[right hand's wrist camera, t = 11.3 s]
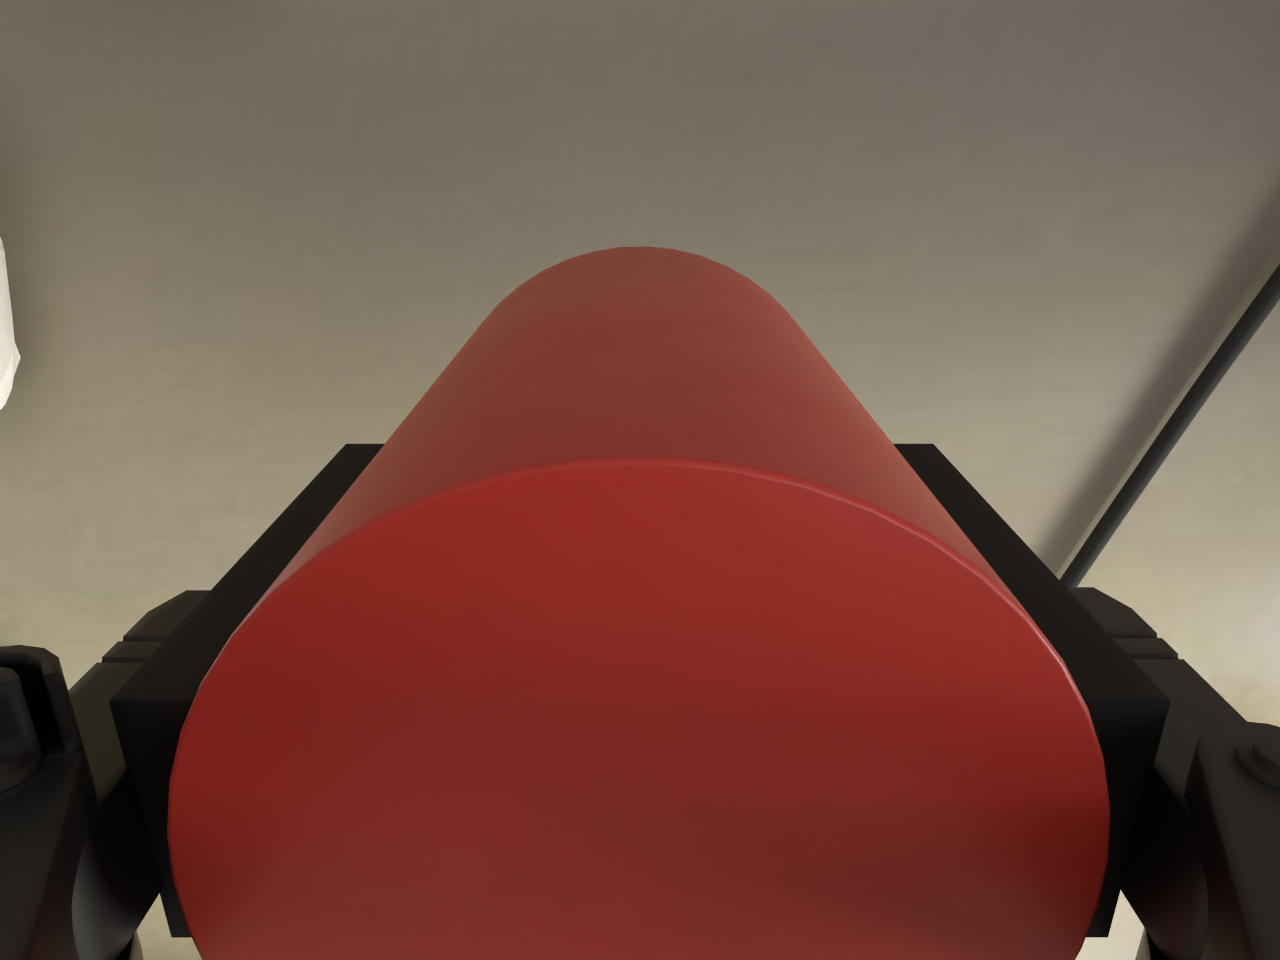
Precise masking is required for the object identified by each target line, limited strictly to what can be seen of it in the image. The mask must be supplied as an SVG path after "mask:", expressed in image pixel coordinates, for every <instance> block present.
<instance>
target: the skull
mask: <svg viewBox="0 0 1280 960" xmlns="http://www.w3.org/2000/svg"><path fill="white" fill-rule="evenodd" d="M20 358H21V357H20V355H19V352H18V349H17V347H16V344H15V341H14V330H13V318H12V310H11V302H10V293H9V285H8V277H7V269H6V261H5V252H4V248H3V243H2V240H1V238H0V410H1V408H2V407H3V406H4V405H5V404H6V401H7V399H8V397H9V394H10V392H11V390H12V384H13V378H14V375H15V372H16V369H17V367H18V364H19V361H20Z"/></svg>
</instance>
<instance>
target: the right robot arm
mask: <svg viewBox="0 0 1280 960" xmlns="http://www.w3.org/2000/svg"><path fill="white" fill-rule="evenodd" d="M1279 299H1280V265H1279V266H1278V267H1277V269H1276V270H1275V271H1274V273H1273V274H1272V276H1271V277H1270V278H1269V280H1268V281H1267V282H1266V284H1265V285H1264V287H1263V288H1262V289H1261V291H1260V292H1259V293H1258V295H1257V296H1256V298H1255V299H1254V300H1253V302H1252V303H1251V305H1250V306H1249V307H1248V309H1247V310H1246V312H1245V313H1244V314H1243V316H1242V317H1241V318H1240V320H1239V321H1238V323H1237V324H1236V325H1235V327H1234V328H1233V330H1232V331H1231V332H1230V334H1229V335H1228V337H1227V338H1226V339H1225V341H1224V342H1223V344H1222V345H1221V346H1220V348H1219V349H1218V351H1217V352H1216V353H1215V355H1214V356H1213V358H1212V359H1211V360H1210V362H1209V363H1208V365H1207V366H1206V367H1205V369H1204V370H1203V372H1202V373H1201V375H1200V376H1199V377H1198V379H1197V380H1196V382H1195V383H1194V384H1193V386H1192V387H1191V389H1190V390H1189V392H1188V393H1187V394H1186V396H1185V397H1184V399H1183V400H1182V402H1181V403H1180V405H1179V406H1178V407H1177V409H1176V410H1175V412H1174V413H1173V415H1172V416H1171V418H1170V419H1169V420H1168V422H1167V423H1166V425H1165V426H1164V428H1163V429H1162V431H1161V432H1160V434H1159V435H1158V436H1157V438H1156V439H1155V441H1154V442H1153V444H1152V445H1151V447H1150V448H1149V450H1148V451H1147V452H1146V454H1145V455H1144V457H1143V458H1142V460H1141V461H1140V463H1139V464H1138V466H1137V467H1136V469H1135V470H1134V471H1133V473H1132V474H1131V476H1130V477H1129V479H1128V480H1127V482H1126V483H1125V485H1124V486H1123V488H1122V489H1121V490H1120V492H1119V493H1118V495H1117V496H1116V498H1115V499H1114V501H1113V502H1112V504H1111V505H1110V506H1109V508H1108V509H1107V511H1106V512H1105V514H1104V515H1103V517H1102V518H1101V520H1100V521H1099V523H1098V524H1097V526H1096V527H1095V529H1094V530H1093V531H1092V533H1091V534H1090V536H1089V537H1088V539H1087V540H1086V542H1085V543H1084V545H1083V546H1082V548H1081V549H1080V551H1079V552H1078V554H1077V555H1076V557H1075V558H1074V560H1073V561H1072V563H1071V564H1070V566H1069V567H1068V569H1067V570H1066V572H1065V573H1064V574H1063V576H1062V577H1061V579H1060V580H1058V578H1057V577H1056V576H1055V575H1054V574H1053V573H1052V572H1051V571H1050V570H1049V569H1048V568H1047V567H1046V565H1045V564H1044V563H1043V562H1042V561H1041V560H1040V559H1039V558H1038V557H1037V556H1036V555H1035V554H1034V552H1033V551H1032V550H1031V549H1030V548H1029V547H1028V546H1027V545H1026V544H1025V543H1024V542H1023V541H1022V539H1021V538H1020V537H1019V536H1018V535H1017V534H1016V533H1015V532H1014V531H1013V530H1012V529H1011V528H1010V527H1009V525H1008V524H1007V523H1006V522H1005V521H1004V520H1003V519H1002V518H1001V517H1000V516H999V515H998V514H997V512H996V511H995V510H994V509H993V508H992V507H991V506H990V505H989V504H988V503H987V502H986V501H985V499H984V498H983V497H982V496H981V495H980V494H979V493H978V492H977V491H976V490H975V489H974V488H973V486H972V485H971V484H970V483H969V482H968V481H967V480H966V479H965V478H964V477H963V476H962V475H961V473H960V472H959V471H958V470H957V469H956V468H955V467H954V466H953V465H952V464H951V463H950V462H949V460H948V459H947V458H946V457H945V456H944V455H943V454H942V453H941V452H940V451H939V450H938V449H937V447H936V446H935V445H934V444H893V445H894V446H895V447H896V449H897V450H898V451H899V452H900V454H901V455H902V456H903V457H904V459H905V460H906V461H907V462H908V464H909V465H910V466H911V467H912V469H913V470H914V471H915V472H916V474H917V475H918V476H919V477H920V479H921V480H922V481H923V482H924V484H925V485H926V486H927V487H928V489H929V490H930V491H931V492H932V494H933V495H934V496H935V497H936V499H937V500H938V501H939V502H940V504H941V505H942V506H943V507H944V509H945V510H946V511H947V512H948V514H949V515H950V516H951V517H952V519H953V520H954V521H955V522H956V524H957V525H958V526H959V527H960V529H961V530H962V531H963V533H964V534H965V535H966V536H967V538H968V539H969V540H970V541H971V543H972V544H973V545H974V546H975V548H976V549H977V550H978V551H979V553H980V554H981V555H982V556H983V558H984V559H985V560H986V561H987V563H988V564H989V565H990V566H991V568H992V569H993V570H994V571H995V573H996V574H997V575H998V576H999V578H1000V579H1001V580H1002V581H1003V583H1004V584H1005V585H1006V586H1007V588H1008V589H1009V590H1010V591H1011V593H1012V594H1013V595H1014V596H1015V598H1016V599H1017V600H1018V601H1019V603H1020V604H1021V605H1022V606H1023V608H1024V609H1025V610H1026V611H1027V613H1028V614H1029V615H1030V617H1031V618H1032V619H1033V621H1034V622H1035V623H1036V625H1037V626H1038V627H1039V629H1040V630H1041V631H1042V633H1043V634H1044V635H1045V637H1046V638H1047V639H1048V641H1049V642H1050V643H1051V645H1052V646H1053V647H1054V649H1055V650H1056V651H1057V653H1058V654H1059V655H1060V657H1061V658H1062V659H1063V661H1064V663H1065V665H1066V667H1067V669H1068V671H1069V673H1070V675H1071V677H1072V678H1073V680H1074V682H1075V684H1076V686H1077V688H1078V690H1079V692H1080V694H1081V696H1082V698H1083V700H1084V702H1085V704H1086V705H1087V707H1088V710H1089V713H1090V717H1091V720H1092V723H1093V726H1094V729H1095V732H1096V736H1097V739H1098V742H1099V745H1100V748H1101V751H1102V755H1103V758H1104V766H1105V773H1106V781H1107V789H1108V796H1109V804H1110V827H1109V850H1108V861H1107V866H1106V871H1105V875H1104V880H1103V885H1102V889H1101V894H1100V899H1099V903H1098V907H1097V909H1096V912H1095V914H1094V917H1093V919H1092V922H1091V925H1090V927H1089V930H1088V932H1087V935H1086V937H1108V934H1109V931H1110V927H1111V923H1112V919H1113V916H1114V912H1115V908H1116V904H1117V901H1118V897H1119V893H1120V889H1121V891H1122V892H1123V894H1124V895H1125V897H1126V899H1127V900H1128V902H1129V903H1130V905H1131V907H1132V908H1133V910H1134V911H1135V913H1136V914H1137V916H1138V918H1139V919H1140V921H1141V922H1142V924H1143V926H1144V931H1143V934H1142V938H1141V941H1140V945H1139V948H1138V952H1137V955H1136V959H1135V960H1280V727H1277V726H1273V725H1270V724H1263V723H1254V722H1247V721H1246V720H1245V719H1244V718H1243V717H1242V716H1241V715H1240V714H1239V713H1238V712H1237V711H1236V710H1235V709H1234V708H1233V707H1232V706H1231V705H1229V704H1228V703H1227V702H1226V701H1225V700H1224V699H1223V698H1222V697H1221V696H1220V695H1219V694H1218V693H1217V692H1216V691H1215V690H1214V689H1213V688H1212V687H1211V686H1210V685H1209V684H1208V683H1207V682H1206V681H1205V680H1204V679H1203V678H1202V677H1201V676H1200V675H1199V674H1198V673H1197V672H1196V671H1195V670H1194V669H1193V668H1192V667H1191V666H1190V665H1189V664H1188V663H1187V662H1186V661H1185V660H1184V659H1178V654H1177V653H1176V652H1175V651H1174V650H1173V649H1172V648H1171V647H1170V646H1169V645H1168V644H1167V643H1166V642H1165V641H1164V640H1163V639H1162V638H1157V633H1156V632H1155V631H1154V630H1153V629H1152V628H1151V627H1150V626H1149V625H1148V624H1147V623H1146V622H1145V621H1144V620H1143V619H1142V618H1141V617H1140V616H1139V615H1138V614H1137V613H1136V612H1135V611H1134V610H1133V609H1131V608H1130V607H1128V606H1126V605H1124V604H1122V603H1121V602H1119V601H1117V600H1115V599H1113V598H1112V597H1110V596H1108V595H1106V594H1104V593H1103V592H1101V591H1099V590H1097V589H1095V588H1093V587H1077V586H1078V584H1079V583H1080V582H1081V580H1082V579H1083V577H1084V576H1085V574H1086V573H1087V571H1088V570H1089V568H1090V567H1091V565H1092V564H1093V563H1094V561H1095V560H1096V558H1097V557H1098V555H1099V554H1100V552H1101V551H1102V549H1103V548H1104V546H1105V545H1106V544H1107V542H1108V541H1109V539H1110V538H1111V536H1112V535H1113V533H1114V532H1115V530H1116V529H1117V528H1118V526H1119V525H1120V523H1121V522H1122V520H1123V519H1124V517H1125V516H1126V515H1127V513H1128V512H1129V510H1130V509H1131V507H1132V506H1133V504H1134V503H1135V502H1136V500H1137V499H1138V497H1139V496H1140V494H1141V493H1142V492H1143V490H1144V489H1145V487H1146V486H1147V484H1148V483H1149V482H1150V480H1151V479H1152V477H1153V476H1154V474H1155V473H1156V471H1157V470H1158V469H1159V467H1160V466H1161V464H1162V463H1163V461H1164V460H1165V458H1166V457H1167V456H1168V454H1169V453H1170V451H1171V450H1172V448H1173V447H1174V446H1175V444H1176V443H1177V441H1178V440H1179V438H1180V437H1181V436H1182V434H1183V433H1184V431H1185V430H1186V428H1187V427H1188V425H1189V424H1190V423H1191V421H1192V420H1193V418H1194V417H1195V416H1196V414H1197V413H1198V411H1199V410H1200V408H1201V407H1202V406H1203V404H1204V403H1205V401H1206V400H1207V399H1208V397H1209V396H1210V394H1211V393H1212V392H1213V390H1214V389H1215V387H1216V386H1217V385H1218V383H1219V382H1220V380H1221V379H1222V378H1223V376H1224V375H1225V373H1226V372H1227V371H1228V369H1229V368H1230V366H1231V365H1232V364H1233V362H1234V361H1235V360H1236V358H1237V357H1238V355H1239V354H1240V353H1241V351H1242V350H1243V348H1244V347H1245V346H1246V344H1247V343H1248V342H1249V340H1250V339H1251V337H1252V336H1253V335H1254V333H1255V332H1256V331H1257V329H1258V328H1259V327H1260V325H1261V324H1262V322H1263V321H1264V320H1265V318H1266V317H1267V316H1268V314H1269V313H1270V311H1271V310H1272V309H1273V307H1274V306H1275V305H1276V303H1277V302H1278V301H1279ZM383 446H384V444H346V445H345V446H344V447H343V448H342V449H341V450H340V451H339V452H338V453H337V454H336V455H335V457H334V458H333V459H332V460H331V461H330V462H329V463H328V464H327V465H326V466H325V467H324V468H323V470H322V471H321V472H320V473H319V474H318V475H317V476H316V477H315V478H314V479H313V480H312V481H311V483H310V484H309V485H308V486H307V487H306V488H305V489H304V490H303V491H302V492H301V493H300V494H299V496H298V497H297V498H296V499H295V500H294V501H293V502H292V503H291V504H290V505H289V506H288V507H287V509H286V510H285V511H284V512H283V513H282V514H281V515H280V516H279V517H278V518H277V519H276V520H275V521H274V523H273V524H272V525H271V526H270V527H269V528H268V529H267V530H266V531H265V532H264V533H263V534H262V536H261V537H260V538H259V539H258V540H257V541H256V542H255V543H254V544H253V545H252V546H251V547H250V549H249V550H248V551H247V552H246V553H245V554H244V555H243V556H242V557H241V558H240V559H239V560H238V562H237V563H236V564H235V565H234V566H233V567H232V568H231V569H230V570H229V571H228V572H227V573H226V575H225V576H224V577H223V578H222V579H221V580H220V581H219V582H218V583H217V584H216V585H215V586H214V588H213V589H212V590H186V591H185V592H183V593H181V594H179V595H178V596H176V597H174V598H172V599H170V600H169V601H167V602H165V603H163V604H161V605H160V606H158V607H156V608H154V609H152V610H151V611H149V612H148V613H147V614H146V615H145V616H144V617H143V618H141V619H140V620H139V621H138V622H137V623H136V624H135V625H134V626H133V627H132V628H131V629H130V630H129V631H128V632H127V633H126V634H125V635H124V636H123V642H117V643H116V644H115V645H114V646H113V647H112V648H111V649H110V650H109V651H108V652H107V653H106V654H105V655H104V656H103V657H102V663H96V664H95V665H94V666H93V667H92V668H91V669H90V670H89V671H88V672H87V673H86V674H85V675H84V676H83V677H82V678H81V679H80V680H79V681H78V682H77V683H76V684H75V685H74V686H73V687H72V688H71V689H70V690H69V691H68V689H67V686H66V682H65V679H64V675H63V672H62V668H61V665H60V661H59V658H58V657H57V656H55V655H54V654H52V653H51V652H49V651H48V650H46V649H45V648H38V647H31V646H23V645H15V646H4V647H0V960H143V954H142V948H141V945H140V941H139V938H138V934H137V931H136V930H137V928H138V926H139V925H140V923H141V922H142V920H143V918H144V917H145V915H146V914H147V912H148V910H149V909H150V907H151V906H152V904H153V902H154V901H155V899H156V898H157V896H158V894H159V893H160V896H161V899H162V903H163V907H164V911H165V914H166V918H167V922H168V926H169V929H170V933H171V937H191V935H190V932H189V930H188V928H187V926H186V923H185V920H184V916H183V913H182V910H181V906H180V903H179V900H178V896H177V893H176V889H175V886H174V883H173V878H172V870H171V862H170V854H169V846H168V838H167V822H168V800H169V782H170V777H171V772H172V768H173V763H174V759H175V755H176V750H177V746H178V741H179V737H180V732H181V729H182V727H183V725H184V722H185V720H186V718H187V715H188V713H189V710H190V708H191V706H192V703H193V701H194V698H195V696H196V694H197V691H198V689H199V686H200V684H201V682H202V680H203V679H204V677H205V676H206V674H207V672H208V671H209V669H210V668H211V666H212V665H213V663H214V661H215V660H216V658H217V657H218V655H219V654H220V652H221V650H222V649H223V647H224V646H225V644H226V643H227V641H228V639H229V638H230V636H231V635H232V633H233V632H234V631H235V630H236V628H237V627H238V626H239V625H240V624H241V622H242V621H243V620H244V619H245V617H246V616H247V615H248V614H249V612H250V611H251V610H252V609H253V607H254V606H255V605H256V604H257V602H258V601H259V600H260V599H261V597H262V596H263V595H264V594H265V592H266V591H267V590H268V589H269V587H270V586H271V585H272V584H273V582H274V581H275V580H276V579H277V578H278V576H279V575H280V574H281V573H282V571H283V570H284V569H285V568H286V566H287V565H288V564H289V563H290V561H291V560H292V559H293V558H294V556H295V555H296V554H297V553H298V551H299V550H300V549H301V548H302V546H303V545H304V544H305V543H306V541H307V540H308V539H309V538H310V536H311V535H312V534H313V533H314V532H315V530H316V529H317V528H318V527H319V525H320V524H321V523H322V522H323V520H324V519H325V518H326V517H327V515H328V514H329V513H330V512H331V510H332V509H333V508H334V507H335V505H336V504H337V503H338V502H339V500H340V499H341V498H342V497H343V495H344V494H345V493H346V492H347V490H348V489H349V488H350V487H351V485H352V484H353V483H354V482H355V481H356V479H357V478H358V477H359V476H360V474H361V473H362V472H363V471H364V469H365V468H366V467H367V466H368V464H369V463H370V462H371V461H372V459H373V458H374V457H375V456H376V454H377V453H378V452H379V451H380V449H381V448H382V447H383Z"/></svg>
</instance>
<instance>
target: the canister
mask: <svg viewBox="0 0 1280 960" xmlns="http://www.w3.org/2000/svg"><path fill="white" fill-rule="evenodd" d="M1109 827H1110V804H1109V796H1108V789H1107V781H1106V773H1105V766H1104V758H1103V755H1102V751H1101V748H1100V745H1099V742H1098V739H1097V736H1096V732H1095V729H1094V726H1093V723H1092V720H1091V717H1090V713H1089V710H1088V707H1087V705H1086V704H1085V702H1084V700H1083V698H1082V696H1081V694H1080V692H1079V690H1078V688H1077V686H1076V684H1075V682H1074V680H1073V678H1072V677H1071V675H1070V673H1069V671H1068V669H1067V667H1066V665H1065V663H1064V661H1063V659H1062V658H1061V657H1060V655H1059V654H1058V653H1057V651H1056V650H1055V649H1054V647H1053V646H1052V645H1051V643H1050V642H1049V641H1048V639H1047V638H1046V637H1045V635H1044V634H1043V633H1042V631H1041V630H1040V629H1039V627H1038V626H1037V625H1036V623H1035V622H1034V621H1033V619H1032V618H1031V617H1030V615H1029V614H1028V613H1027V611H1026V610H1025V609H1024V608H1023V606H1022V605H1021V604H1020V603H1019V601H1018V600H1017V599H1016V598H1015V596H1014V595H1013V594H1012V593H1011V591H1010V590H1009V589H1008V588H1007V586H1006V585H1005V584H1004V583H1003V581H1002V580H1001V579H1000V578H999V576H998V575H997V574H996V573H995V571H994V570H993V569H992V568H991V566H990V565H989V564H988V563H987V561H986V560H985V559H984V558H983V556H982V555H981V554H980V553H979V551H978V550H977V549H976V548H975V546H974V545H973V544H972V543H971V541H970V540H969V539H968V538H967V536H966V535H965V534H964V533H963V531H962V530H961V529H960V527H959V526H958V525H957V524H956V522H955V521H954V520H953V519H952V517H951V516H950V515H949V514H948V512H947V511H946V510H945V509H944V507H943V506H942V505H941V504H940V502H939V501H938V500H937V499H936V497H935V496H934V495H933V494H932V492H931V491H930V490H929V489H928V487H927V486H926V485H925V484H924V482H923V481H922V480H921V479H920V477H919V476H918V475H917V474H916V472H915V471H914V470H913V469H912V467H911V466H910V465H909V464H908V462H907V461H906V460H905V459H904V457H903V456H902V455H901V454H900V452H899V451H898V450H897V449H896V447H895V446H894V445H893V444H892V442H891V441H890V440H889V439H888V437H887V436H886V435H885V433H884V432H883V431H882V430H881V428H880V427H879V426H878V425H877V423H876V422H875V421H874V420H873V418H872V417H871V416H870V415H869V413H868V412H867V411H866V410H865V408H864V407H863V406H862V405H861V403H860V402H859V401H858V400H857V398H856V397H855V396H854V395H853V393H852V392H851V391H850V390H849V388H848V387H847V386H846V385H845V383H844V382H843V381H842V380H841V378H840V377H839V376H838V375H837V373H836V372H835V371H834V370H833V368H832V367H831V366H830V365H829V363H828V362H827V361H826V360H825V358H824V357H823V356H822V355H821V353H820V352H819V351H818V350H817V348H816V347H815V346H814V344H813V343H812V342H811V341H810V339H809V338H808V337H807V336H806V334H805V333H804V332H803V331H802V329H801V328H800V327H799V326H798V324H797V323H796V322H795V321H794V319H793V318H792V317H791V316H790V314H789V313H788V312H787V311H786V310H785V309H784V308H783V307H782V306H781V305H780V304H779V303H778V302H777V301H776V300H775V299H774V298H773V297H772V296H771V295H770V294H769V293H767V292H766V291H765V290H763V289H762V288H761V287H759V286H758V285H757V284H755V283H754V282H753V281H751V280H750V279H749V278H747V277H745V276H743V275H741V274H740V273H738V272H736V271H734V270H732V269H731V268H729V267H727V266H725V265H723V264H720V263H717V262H715V261H712V260H710V259H707V258H705V257H702V256H699V255H695V254H691V253H687V252H683V251H678V250H674V249H665V248H656V247H619V248H613V249H607V250H601V251H595V252H591V253H587V254H584V255H581V256H578V257H574V258H571V259H568V260H565V261H563V262H561V263H559V264H557V265H555V266H552V267H550V268H548V269H546V270H544V271H542V272H540V273H539V274H537V275H536V276H534V277H533V278H531V279H529V280H528V281H526V282H525V283H523V284H522V285H520V286H519V287H518V288H517V289H515V290H514V291H513V292H512V293H511V294H510V295H508V296H507V297H506V298H505V299H504V300H503V301H501V302H500V303H499V304H498V306H497V307H496V308H495V309H494V310H493V311H492V312H491V313H490V315H489V316H488V317H487V318H486V319H485V320H484V321H483V323H482V324H481V325H480V326H479V328H478V329H477V330H476V331H475V333H474V334H473V335H472V336H471V338H470V339H469V340H468V341H467V343H466V344H465V345H464V346H463V347H462V349H461V350H460V351H459V352H458V354H457V355H456V356H455V357H454V359H453V360H452V361H451V362H450V364H449V365H448V366H447V367H446V369H445V370H444V371H443V372H442V374H441V375H440V376H439V377H438V379H437V380H436V381H435V382H434V384H433V385H432V386H431V387H430V389H429V390H428V391H427V392H426V393H425V395H424V396H423V397H422V398H421V400H420V401H419V402H418V403H417V405H416V406H415V407H414V408H413V410H412V411H411V412H410V413H409V415H408V416H407V417H406V418H405V420H404V421H403V422H402V423H401V425H400V426H399V427H398V428H397V430H396V431H395V432H394V433H393V435H392V436H391V437H390V438H389V439H388V441H387V442H386V443H385V444H384V446H383V447H382V448H381V449H380V451H379V452H378V453H377V454H376V456H375V457H374V458H373V459H372V461H371V462H370V463H369V464H368V466H367V467H366V468H365V469H364V471H363V472H362V473H361V474H360V476H359V477H358V478H357V479H356V481H355V482H354V483H353V484H352V485H351V487H350V488H349V489H348V490H347V492H346V493H345V494H344V495H343V497H342V498H341V499H340V500H339V502H338V503H337V504H336V505H335V507H334V508H333V509H332V510H331V512H330V513H329V514H328V515H327V517H326V518H325V519H324V520H323V522H322V523H321V524H320V525H319V527H318V528H317V529H316V530H315V532H314V533H313V534H312V535H311V536H310V538H309V539H308V540H307V541H306V543H305V544H304V545H303V546H302V548H301V549H300V550H299V551H298V553H297V554H296V555H295V556H294V558H293V559H292V560H291V561H290V563H289V564H288V565H287V566H286V568H285V569H284V570H283V571H282V573H281V574H280V575H279V576H278V578H277V579H276V580H275V581H274V582H273V584H272V585H271V586H270V587H269V589H268V590H267V591H266V592H265V594H264V595H263V596H262V597H261V599H260V600H259V601H258V602H257V604H256V605H255V606H254V607H253V609H252V610H251V611H250V612H249V614H248V615H247V616H246V617H245V619H244V620H243V621H242V622H241V624H240V625H239V626H238V627H237V628H236V630H235V631H234V632H233V633H232V635H231V636H230V638H229V639H228V641H227V643H226V644H225V646H224V647H223V649H222V650H221V652H220V654H219V655H218V657H217V658H216V660H215V661H214V663H213V665H212V666H211V668H210V669H209V671H208V672H207V674H206V676H205V677H204V679H203V680H202V682H201V684H200V686H199V689H198V691H197V694H196V696H195V698H194V701H193V703H192V706H191V708H190V710H189V713H188V715H187V718H186V720H185V722H184V725H183V727H182V729H181V732H180V737H179V741H178V746H177V750H176V755H175V759H174V763H173V768H172V772H171V777H170V782H169V800H168V822H167V838H168V846H169V854H170V862H171V870H172V878H173V883H174V886H175V889H176V893H177V896H178V900H179V903H180V906H181V910H182V913H183V916H184V920H185V923H186V926H187V928H188V930H189V932H190V935H191V937H192V939H193V941H194V943H195V945H196V947H197V949H198V951H199V953H200V956H201V958H202V960H1075V958H1076V957H1077V955H1078V953H1079V951H1080V950H1081V948H1082V945H1083V942H1084V940H1085V937H1086V935H1087V932H1088V930H1089V927H1090V925H1091V922H1092V919H1093V917H1094V914H1095V912H1096V909H1097V907H1098V903H1099V899H1100V894H1101V889H1102V885H1103V880H1104V875H1105V871H1106V866H1107V861H1108V850H1109Z"/></svg>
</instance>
